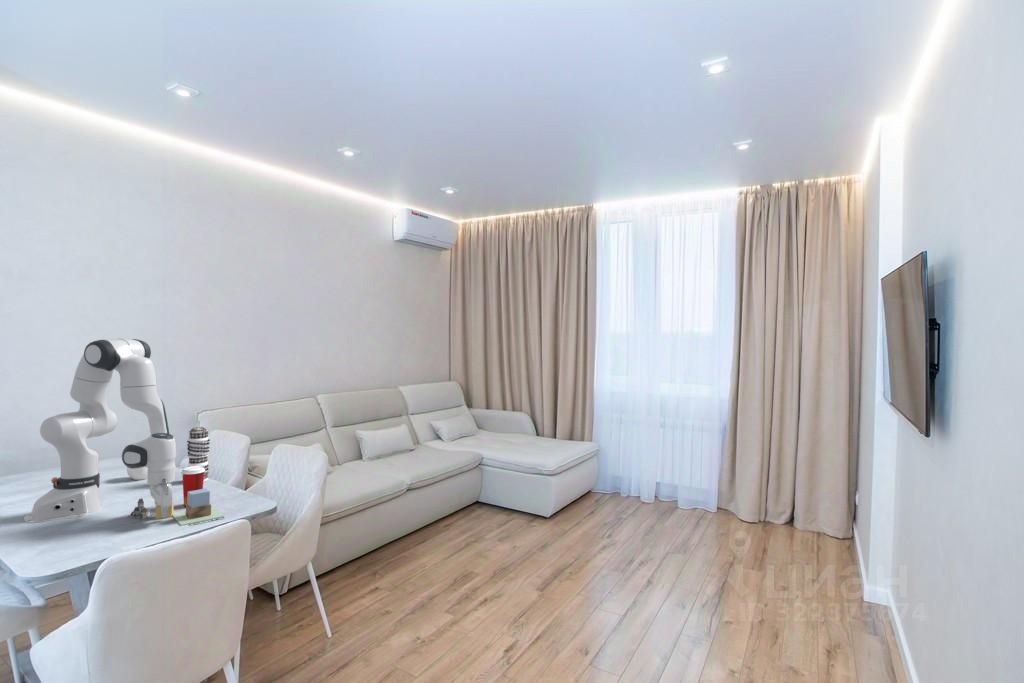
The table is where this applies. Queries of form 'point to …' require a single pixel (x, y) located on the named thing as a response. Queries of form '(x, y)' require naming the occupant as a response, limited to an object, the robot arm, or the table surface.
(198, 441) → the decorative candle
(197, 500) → the slate brick
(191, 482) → the coffee cup
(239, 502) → the table surface
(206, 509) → the base brick
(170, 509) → the ochre brick
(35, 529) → the table surface
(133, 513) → the grey lumpy mound
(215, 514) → the sage board
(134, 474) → the lidded jar
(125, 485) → the table surface
